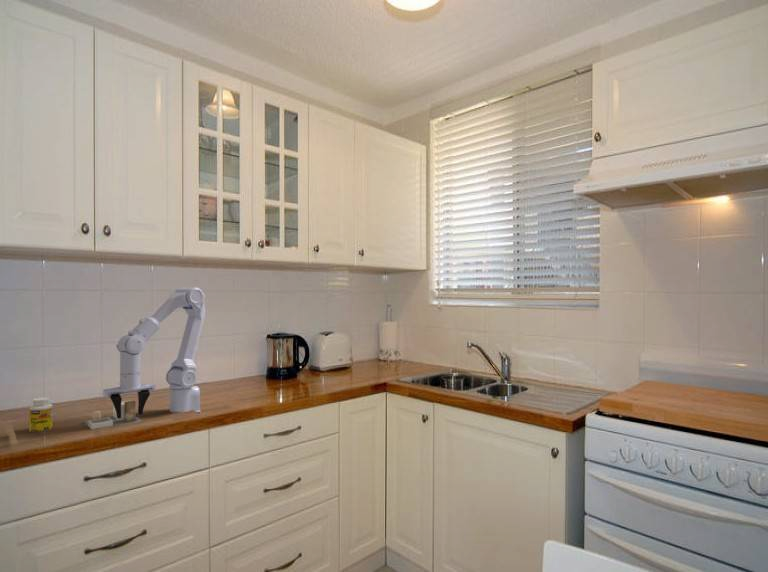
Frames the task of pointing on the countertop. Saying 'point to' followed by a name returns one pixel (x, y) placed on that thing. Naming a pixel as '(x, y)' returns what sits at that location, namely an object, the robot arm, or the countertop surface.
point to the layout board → (105, 421)
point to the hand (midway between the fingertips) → (129, 415)
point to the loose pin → (129, 411)
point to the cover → (121, 411)
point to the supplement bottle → (40, 415)
